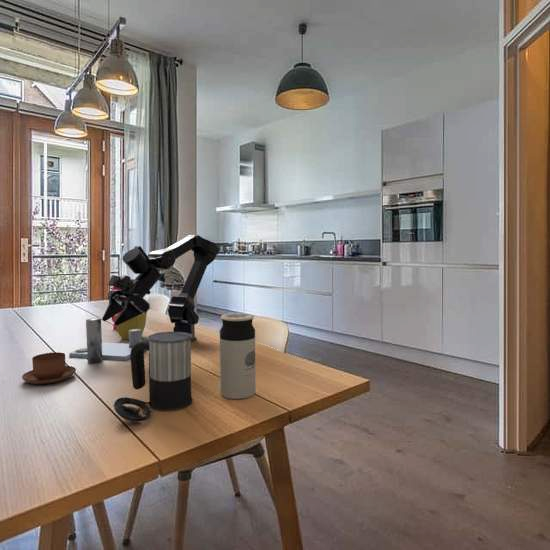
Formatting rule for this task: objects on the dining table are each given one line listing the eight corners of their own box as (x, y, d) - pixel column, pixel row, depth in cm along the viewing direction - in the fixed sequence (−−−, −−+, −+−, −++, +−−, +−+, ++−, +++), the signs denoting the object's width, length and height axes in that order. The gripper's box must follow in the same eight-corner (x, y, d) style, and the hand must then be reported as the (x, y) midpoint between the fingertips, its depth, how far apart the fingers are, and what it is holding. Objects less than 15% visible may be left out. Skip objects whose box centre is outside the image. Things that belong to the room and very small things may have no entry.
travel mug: (213, 393, 94) (212, 315, 92) (240, 385, 99) (239, 311, 98) (235, 403, 88) (234, 320, 87) (262, 393, 94) (262, 315, 92)
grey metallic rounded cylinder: (105, 360, 121) (103, 318, 120) (96, 364, 117) (95, 321, 116) (93, 359, 122) (91, 318, 121) (84, 363, 118) (82, 320, 117)
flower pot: (148, 335, 154) (147, 311, 153) (138, 340, 145) (137, 315, 145) (125, 334, 155) (124, 311, 154) (114, 340, 146) (113, 315, 146)
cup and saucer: (28, 375, 108) (26, 352, 107) (78, 370, 112) (77, 348, 111) (17, 390, 97) (15, 365, 96) (73, 384, 101) (72, 360, 100)
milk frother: (196, 395, 93) (195, 330, 92) (183, 425, 77) (181, 348, 76) (133, 396, 93) (131, 331, 91) (107, 427, 77) (104, 349, 76)
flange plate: (149, 348, 134) (149, 329, 134) (125, 360, 121) (124, 339, 120) (98, 345, 138) (97, 327, 138) (69, 356, 125) (68, 336, 124)
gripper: (113, 264, 131) (77, 302, 124) (138, 266, 117) (100, 309, 110) (137, 287, 137) (104, 324, 130) (164, 292, 123) (129, 333, 116)
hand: (109, 322), depth 122 cm, fingers open, 9 cm apart
